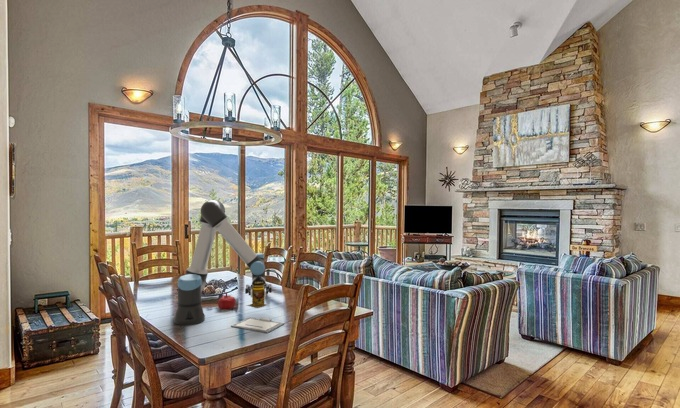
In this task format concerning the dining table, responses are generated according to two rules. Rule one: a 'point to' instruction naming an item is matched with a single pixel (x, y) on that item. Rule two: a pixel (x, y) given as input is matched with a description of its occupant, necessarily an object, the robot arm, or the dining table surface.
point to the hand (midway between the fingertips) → (258, 294)
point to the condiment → (257, 295)
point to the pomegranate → (226, 302)
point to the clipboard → (258, 325)
